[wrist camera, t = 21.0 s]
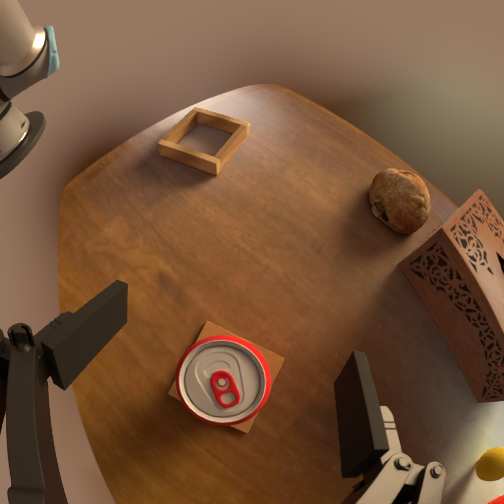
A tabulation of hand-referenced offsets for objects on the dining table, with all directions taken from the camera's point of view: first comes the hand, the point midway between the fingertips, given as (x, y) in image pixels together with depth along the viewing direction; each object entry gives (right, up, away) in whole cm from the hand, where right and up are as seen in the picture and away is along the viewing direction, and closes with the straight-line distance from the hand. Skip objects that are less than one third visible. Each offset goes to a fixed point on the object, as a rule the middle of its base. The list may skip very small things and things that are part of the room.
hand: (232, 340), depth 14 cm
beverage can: (-2, -8, +11) cm, 14 cm away
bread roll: (+23, +12, +23) cm, 34 cm away
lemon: (+35, -27, +6) cm, 45 cm away
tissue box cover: (+33, -4, +16) cm, 37 cm away
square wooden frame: (-6, +21, +25) cm, 33 cm away
